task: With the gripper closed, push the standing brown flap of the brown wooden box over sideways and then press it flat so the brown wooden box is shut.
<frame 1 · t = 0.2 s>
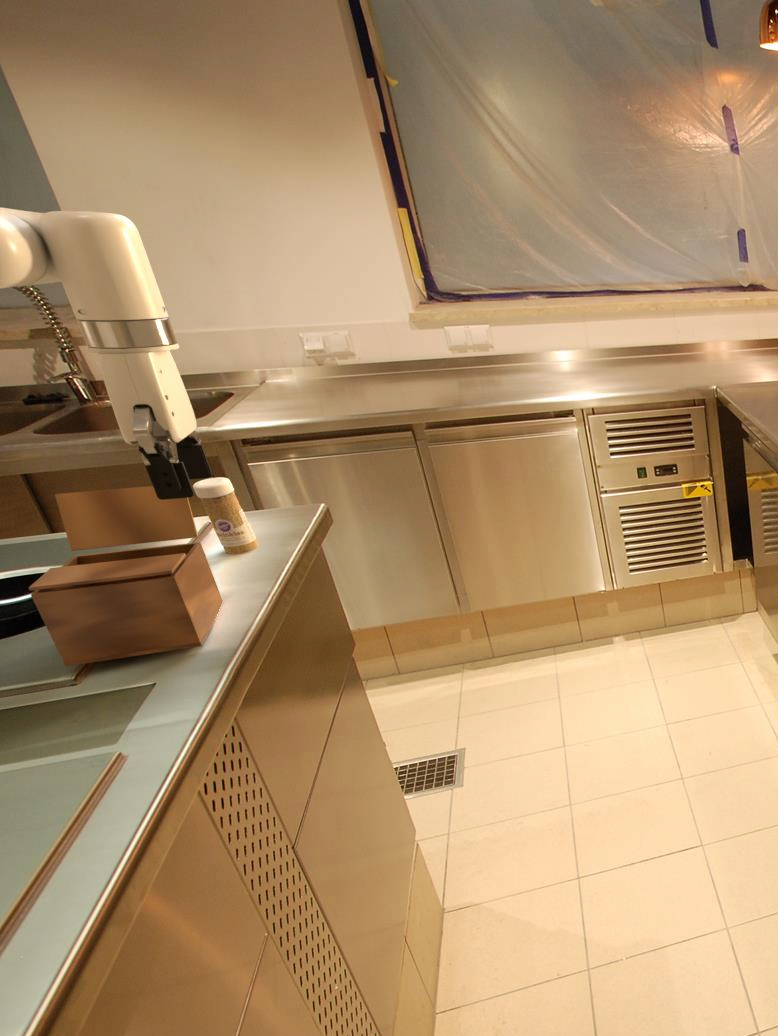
hand: (187, 487, 100), 21 cm above the worktop, tool pointing down, fingers open, 9 cm apart
brown wooden box: (151, 633, 110), on the worktop
flap: (129, 516, 112), point 14 cm above the worktop, hinge at 110.0°
sprinkles bottle: (249, 561, 135), on the worktop
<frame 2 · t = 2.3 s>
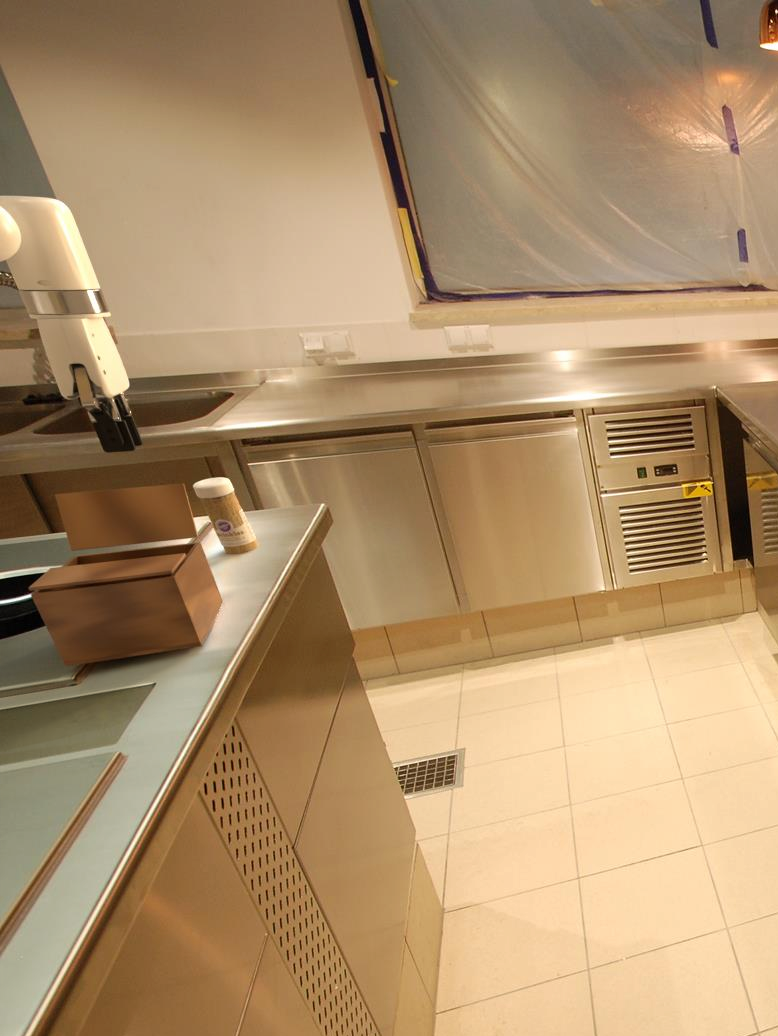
hand: (124, 447, 115), 21 cm above the worktop, tool pointing down, fingers closed
nothing on the worktop moved.
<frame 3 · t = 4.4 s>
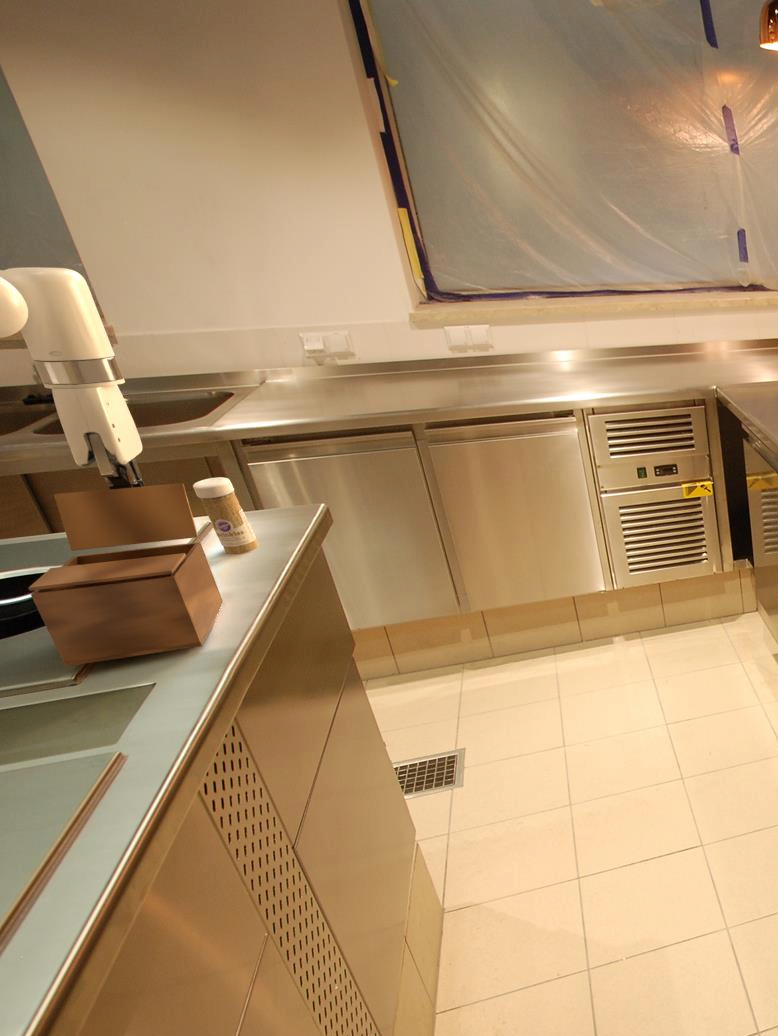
hand: (137, 511, 115), 13 cm above the worktop, tool pointing down, fingers closed
flap: (128, 516, 111), point 14 cm above the worktop, hinge at 107.8°, touching gripper
everything else where it was.
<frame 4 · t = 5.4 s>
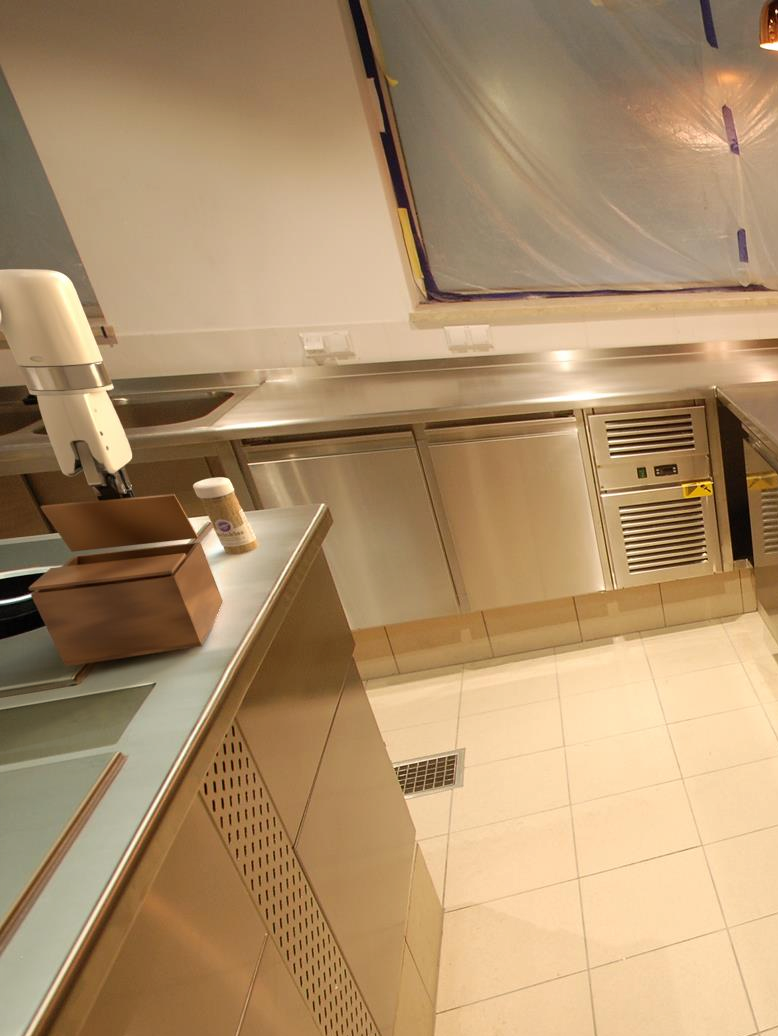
hand: (127, 522, 111), 13 cm above the worktop, tool pointing down, fingers closed
flap: (123, 522, 109), point 14 cm above the worktop, hinge at 66.3°, touching gripper
everything else where it was.
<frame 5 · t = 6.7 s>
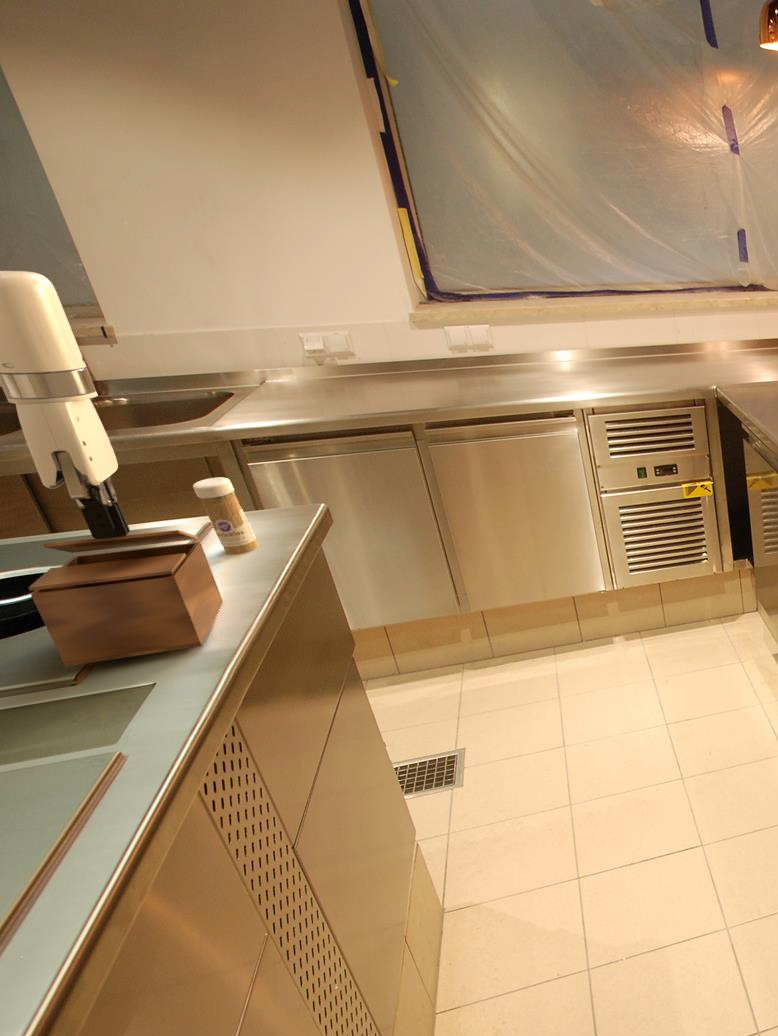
hand: (112, 535, 106), 13 cm above the worktop, tool pointing down, fingers closed
flap: (125, 541, 109), point 12 cm above the worktop, hinge at 22.9°
everything else where it was.
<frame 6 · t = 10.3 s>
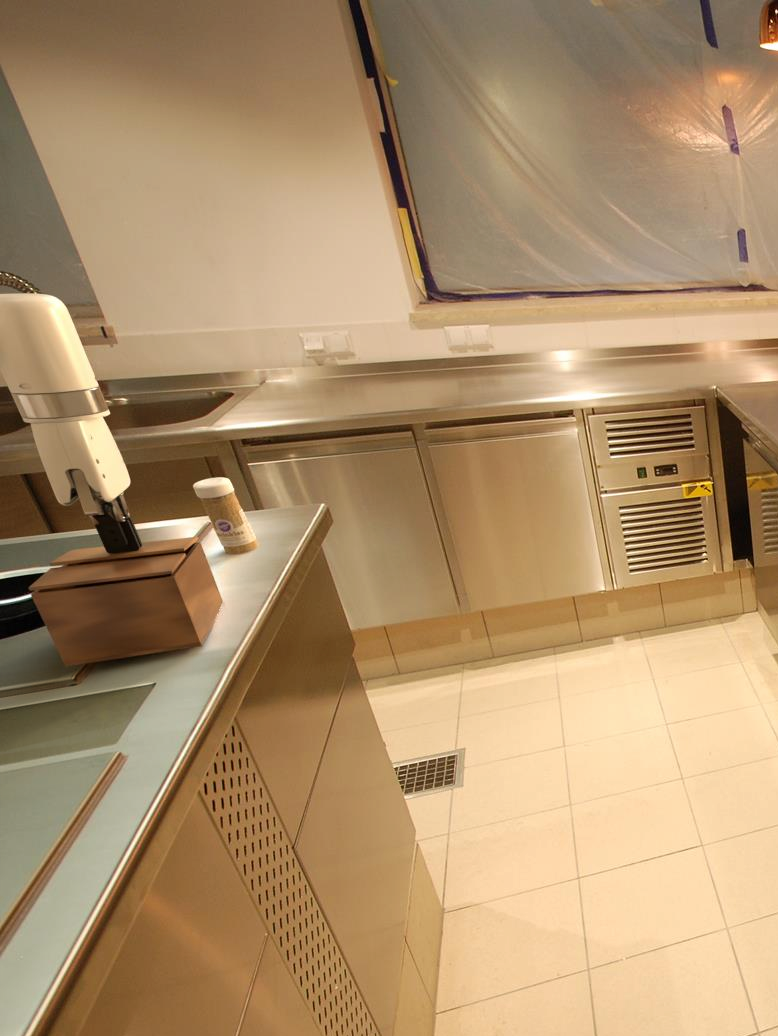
hand: (125, 550, 108), 11 cm above the worktop, tool pointing down, fingers closed
flap: (127, 550, 109), point 10 cm above the worktop, hinge at 4.6°, touching gripper
everything else where it was.
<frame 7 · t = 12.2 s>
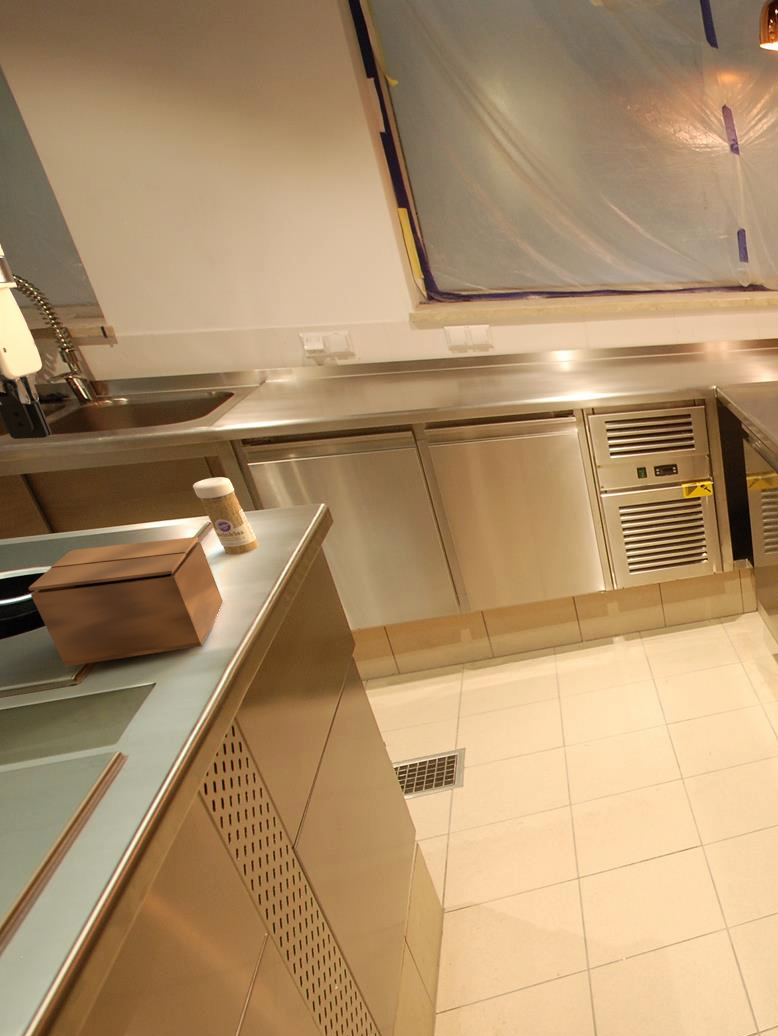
hand: (32, 436, 102), 25 cm above the worktop, tool pointing down, fingers closed
flap: (128, 552, 109), point 10 cm above the worktop, hinge at 0.9°
everything else where it was.
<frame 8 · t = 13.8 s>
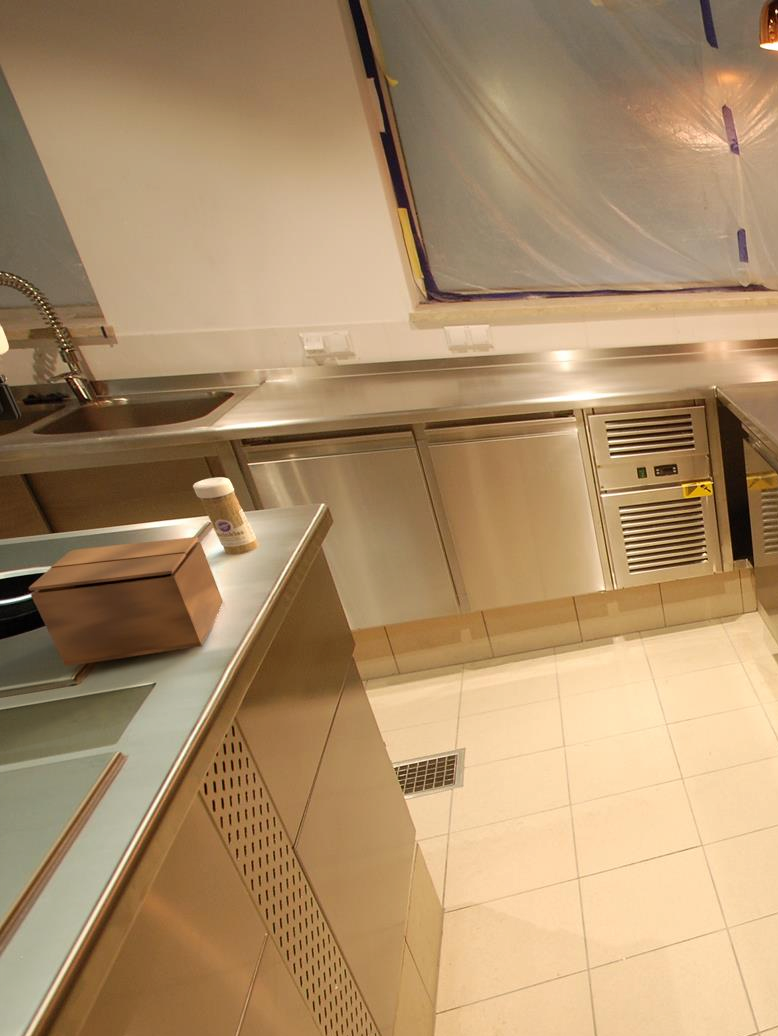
hand: (2, 419, 102), 27 cm above the worktop, tool pointing down, fingers closed
nothing on the worktop moved.
at the end: flap at +1° (first picture: +110°); sprinkles bottle moved 0.0 cm from its start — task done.
